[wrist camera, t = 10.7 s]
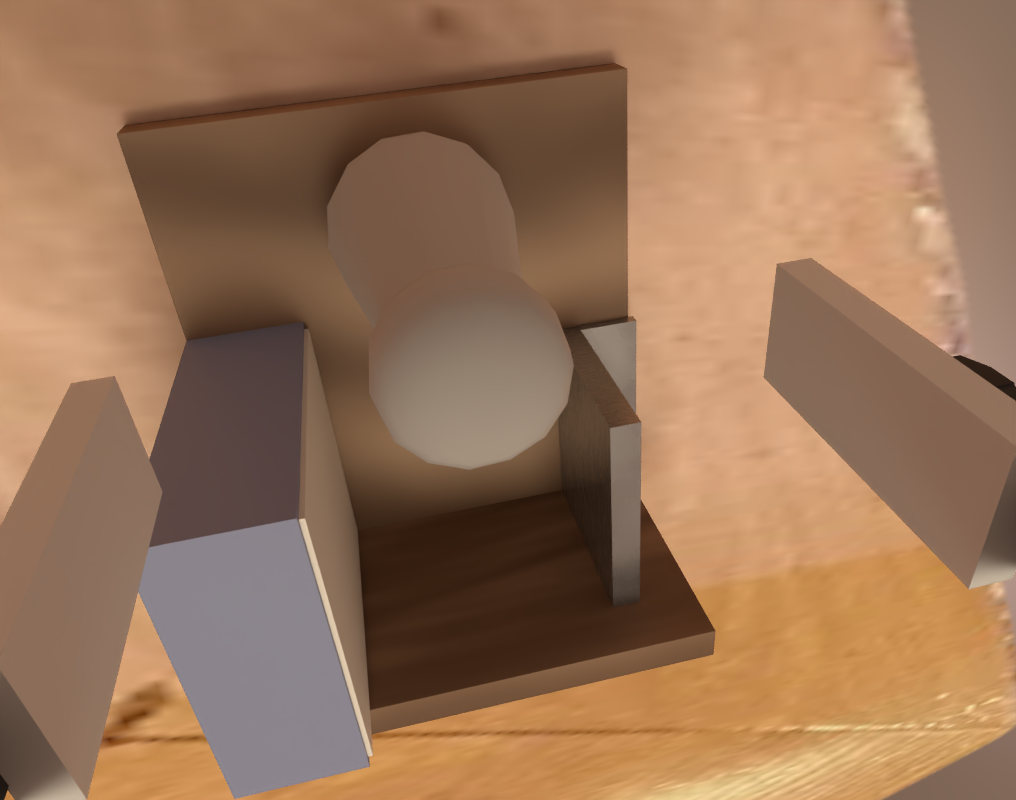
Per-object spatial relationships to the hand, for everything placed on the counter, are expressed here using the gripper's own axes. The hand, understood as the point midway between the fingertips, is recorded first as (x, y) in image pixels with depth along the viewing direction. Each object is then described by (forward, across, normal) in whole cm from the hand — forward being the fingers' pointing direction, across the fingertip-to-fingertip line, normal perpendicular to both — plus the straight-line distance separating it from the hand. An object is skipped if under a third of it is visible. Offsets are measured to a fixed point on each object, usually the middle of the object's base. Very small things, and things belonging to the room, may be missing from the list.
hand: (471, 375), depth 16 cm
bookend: (+12, +6, -10) cm, 17 cm away
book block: (+12, -6, -9) cm, 17 cm away
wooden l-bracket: (+14, 0, -6) cm, 15 cm away
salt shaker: (+13, 0, -1) cm, 13 cm away
